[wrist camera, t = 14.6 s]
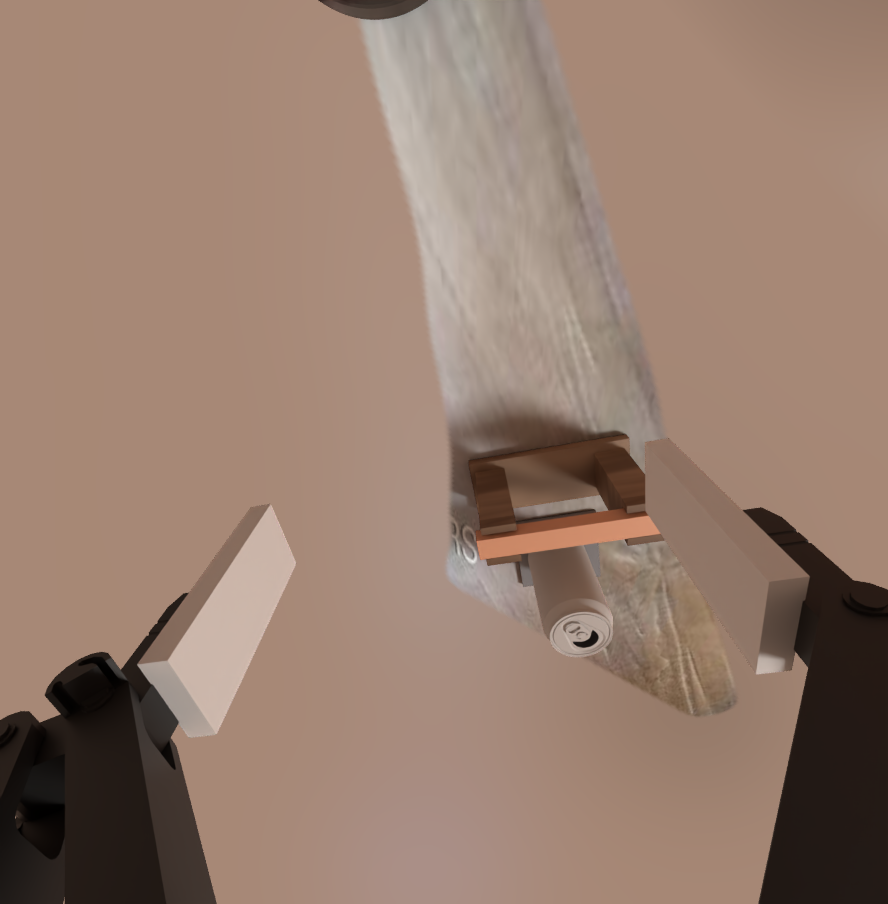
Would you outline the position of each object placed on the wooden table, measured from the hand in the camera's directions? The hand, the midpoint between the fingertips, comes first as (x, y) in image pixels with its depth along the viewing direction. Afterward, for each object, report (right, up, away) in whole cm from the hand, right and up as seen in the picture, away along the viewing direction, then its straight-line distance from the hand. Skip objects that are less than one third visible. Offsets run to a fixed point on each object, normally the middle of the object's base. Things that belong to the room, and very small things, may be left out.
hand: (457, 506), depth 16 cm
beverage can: (+12, -9, +36) cm, 39 cm away
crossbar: (+10, -4, +23) cm, 26 cm away
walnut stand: (+11, 0, +32) cm, 34 cm away
